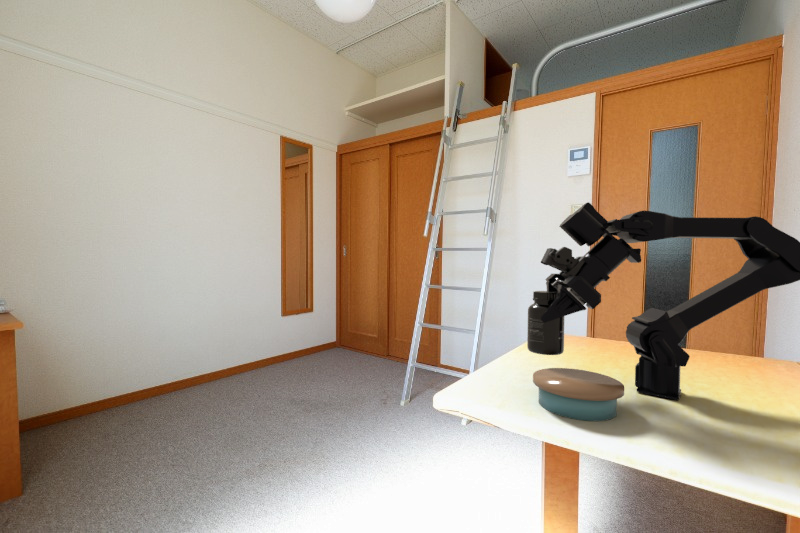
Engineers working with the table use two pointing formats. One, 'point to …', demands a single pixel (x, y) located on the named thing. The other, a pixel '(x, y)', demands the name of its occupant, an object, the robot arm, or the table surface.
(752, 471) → the table surface
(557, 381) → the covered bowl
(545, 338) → the supplement bottle
